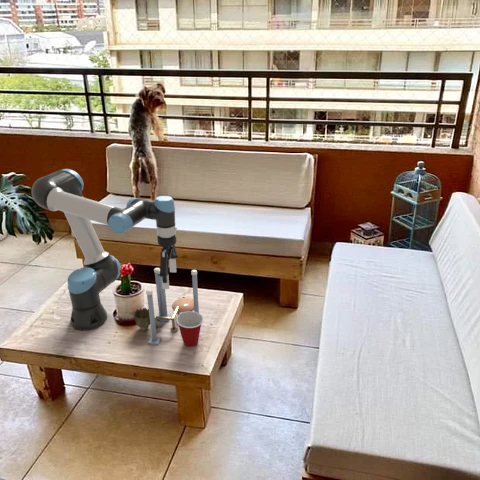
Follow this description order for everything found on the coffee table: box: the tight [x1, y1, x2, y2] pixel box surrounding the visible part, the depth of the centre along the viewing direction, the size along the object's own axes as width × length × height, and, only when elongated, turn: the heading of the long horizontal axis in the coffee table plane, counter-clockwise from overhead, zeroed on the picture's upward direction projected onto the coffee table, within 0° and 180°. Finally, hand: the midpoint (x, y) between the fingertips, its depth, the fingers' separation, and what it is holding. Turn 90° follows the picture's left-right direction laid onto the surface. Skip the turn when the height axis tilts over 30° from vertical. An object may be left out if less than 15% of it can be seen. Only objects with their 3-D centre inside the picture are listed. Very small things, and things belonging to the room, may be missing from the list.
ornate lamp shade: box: [133, 307, 151, 331], centre depth 188 cm, size 8×7×8 cm
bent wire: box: [155, 306, 181, 333], centre depth 191 cm, size 10×12×6 cm
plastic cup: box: [175, 310, 204, 347], centre depth 178 cm, size 11×11×12 cm
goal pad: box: [172, 297, 194, 313], centre depth 205 cm, size 11×11×1 cm
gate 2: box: [153, 267, 200, 316], centre depth 191 cm, size 4×20×24 cm, turn 83°
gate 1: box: [145, 270, 172, 346], centre depth 184 cm, size 4×20×24 cm, turn 173°
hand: (169, 280), depth 187 cm, fingers open, 13 cm apart
